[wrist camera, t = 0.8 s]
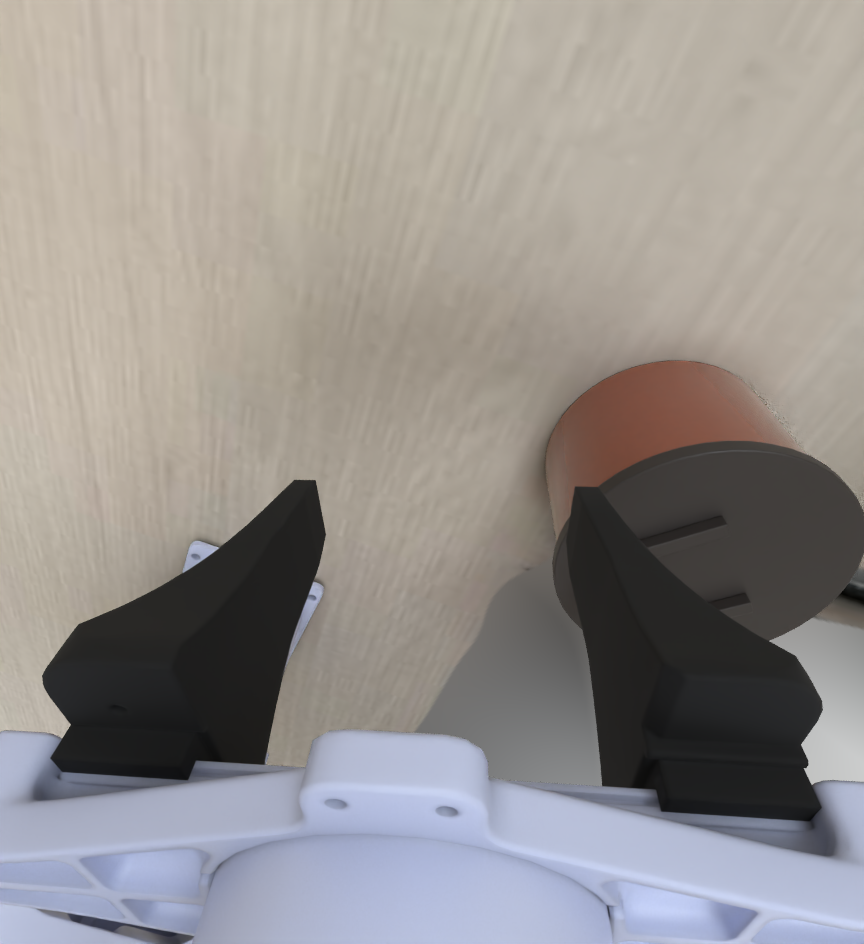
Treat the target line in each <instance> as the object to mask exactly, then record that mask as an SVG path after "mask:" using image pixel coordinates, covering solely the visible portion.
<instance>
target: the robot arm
mask: <svg viewBox="0 0 864 944" xmlns="http://www.w3.org/2000/svg"><path fill="white" fill-rule="evenodd" d="M325 536H326V533H325V528H324V522H323V517H322V512H321V506H320V501H319V496H318V490H317V485H316V480H294V481H293V482H292V483H291V484H290V485H289V486H288V487H287V488H285V489H284V490H283V491H282V492H281V493H280V494H279V495H278V496H277V497H276V498H275V499H274V500H273V501H272V502H271V503H270V504H269V505H268V506H267V507H266V508H265V509H264V510H263V511H262V512H261V513H259V514H258V515H257V516H256V517H255V518H254V519H253V520H252V521H251V522H250V523H249V524H248V525H246V526H245V527H244V528H243V529H242V530H241V531H239V532H238V533H237V534H236V535H235V536H233V537H232V538H231V539H230V540H229V541H228V542H226V543H225V544H224V545H223V546H221V547H220V548H218V547H216V546H213V545H210V544H207V543H205V542H202V541H194V542H192V544H191V545H190V547H189V549H188V553H187V557H186V561H185V565H184V568H183V572H182V574H180V575H179V576H177V577H175V578H174V579H172V580H170V581H169V582H167V583H166V584H164V585H162V586H160V587H159V588H157V589H155V590H153V591H151V592H149V593H147V594H145V595H144V596H141V597H139V598H137V599H135V600H133V601H131V602H129V603H127V604H125V605H123V606H121V607H119V608H116V609H114V610H112V611H109V612H107V613H105V614H102V615H100V616H98V617H95V618H93V619H90V620H88V621H86V622H83V623H80V624H78V626H77V627H76V628H75V629H74V631H73V632H72V634H71V635H70V636H69V638H68V639H67V640H66V642H65V643H64V644H63V646H62V647H61V648H60V650H59V651H58V653H57V654H56V655H55V657H54V658H53V659H52V661H51V662H50V664H49V665H48V666H47V668H46V669H45V671H44V673H43V675H42V677H43V685H44V688H45V690H46V691H47V693H48V695H49V696H50V698H51V699H52V700H53V702H54V703H55V704H56V706H57V707H58V708H59V710H60V711H61V712H62V713H63V715H64V716H65V717H66V719H67V720H68V721H69V723H70V724H71V726H70V727H69V729H68V730H67V732H66V734H65V735H64V737H63V738H60V737H58V736H56V735H54V734H50V733H45V732H28V731H12V730H5V731H1V732H0V944H864V782H855V781H838V780H828V781H821V782H817V783H814V784H813V785H811V783H810V781H809V779H808V777H807V775H806V773H805V770H804V768H807V766H808V759H807V757H806V755H805V753H804V751H803V749H802V746H801V744H802V742H803V741H804V739H805V738H806V737H807V735H808V734H809V732H810V731H811V730H812V728H813V727H814V725H815V724H816V723H817V721H818V719H819V717H820V715H821V713H822V710H823V709H822V700H821V698H820V696H819V695H818V693H817V691H816V689H815V687H814V685H813V683H812V681H811V680H810V678H809V676H808V674H807V673H806V671H805V670H804V668H803V667H802V665H801V664H800V662H799V661H798V659H797V657H796V656H795V655H793V654H791V653H789V652H787V651H785V650H784V649H782V648H780V647H778V646H777V645H775V644H773V643H771V642H769V641H767V640H766V639H764V638H762V637H760V636H758V635H757V634H755V633H753V632H752V631H750V630H749V629H747V628H745V627H744V626H742V625H741V624H739V623H737V622H736V621H734V620H733V619H731V618H730V617H728V616H727V615H725V614H724V613H722V612H721V611H719V610H718V609H717V608H715V607H714V606H713V605H711V604H710V603H709V602H707V601H706V600H705V599H703V598H702V597H701V596H699V595H698V594H697V593H695V592H694V591H693V590H692V589H690V588H689V587H688V586H687V585H685V584H684V583H683V582H682V581H681V580H680V579H679V578H677V577H676V576H675V575H674V574H673V573H672V572H671V571H670V570H668V569H667V568H666V567H665V566H664V565H663V564H662V563H661V562H660V561H659V560H658V559H657V558H656V557H655V556H654V555H653V554H652V552H651V551H650V550H649V549H648V548H647V547H646V546H645V545H644V544H643V543H642V542H641V540H640V539H639V538H638V537H637V536H636V535H635V533H634V532H633V531H632V530H631V529H630V528H629V526H628V525H627V524H626V523H625V521H624V520H623V519H622V518H621V516H620V515H619V514H618V513H617V511H616V510H615V509H614V507H613V506H612V505H611V503H610V502H609V501H608V499H607V498H606V497H605V495H604V494H603V493H602V491H601V490H600V489H599V488H598V487H578V486H575V489H574V495H573V501H572V507H571V514H570V520H569V526H568V532H567V539H566V547H567V558H568V567H569V575H570V579H571V584H572V588H573V592H574V597H575V601H576V605H577V609H578V613H579V618H580V622H581V626H582V630H583V634H584V638H585V643H586V648H587V653H588V658H589V665H590V672H591V681H592V689H593V697H594V706H595V715H596V723H597V733H598V743H599V752H600V763H601V775H602V786H590V785H589V786H588V785H574V784H558V783H542V782H526V781H510V780H501V779H498V778H494V777H490V776H488V761H487V758H486V756H485V754H484V752H483V750H482V749H481V748H479V747H478V746H477V745H475V744H473V743H471V742H470V741H468V740H466V739H465V738H460V737H454V736H449V735H444V734H427V733H410V732H392V731H375V730H358V729H343V730H332V731H328V732H326V733H325V734H323V735H321V736H319V737H318V738H316V739H314V740H313V741H312V745H311V749H310V753H309V757H308V761H307V765H306V768H305V767H289V766H273V765H266V762H267V759H268V756H269V754H268V753H267V748H268V743H269V738H270V733H271V728H272V723H273V718H274V713H275V709H276V704H277V700H278V695H279V691H280V687H281V682H282V678H283V675H284V672H285V669H286V666H287V663H288V661H289V659H290V657H291V655H292V653H293V651H294V649H295V647H296V645H297V643H298V641H299V640H300V638H301V636H302V634H303V632H304V630H305V628H306V626H307V624H308V622H309V620H310V618H311V616H312V614H313V613H314V611H315V609H316V607H317V605H318V603H319V601H320V599H321V597H322V595H323V592H324V588H323V586H322V585H321V584H319V583H316V582H313V581H314V578H315V576H316V573H317V570H318V567H319V564H320V559H321V555H322V551H323V546H324V541H325ZM313 595H314V596H313Z"/></svg>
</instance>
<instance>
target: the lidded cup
mask: <svg viewBox="0 0 864 944" xmlns="http://www.w3.org/2000/svg"><path fill="white" fill-rule="evenodd" d="M545 474H546V481H547V487H548V494H549V500H550V507H551V513H552V520H553V526H554V533H555V539H556V545H555V549H554V555H553V563H552V564H553V578H554V585H555V588H556V593H557V596H558V598H559V600H560V603H561V605H562V607H563V608H564V610H565V611H566V613H567V614H568V615H569V617H570V618H571V619H572V620H573V621H574V622H575V623H576V624H577V625H578V626H579V627H580V628H581V629H582V626H581V622H580V618H579V613H578V609H577V605H576V601H575V597H574V592H573V588H572V584H571V579H570V575H569V567H568V558H567V547H566V539H567V532H568V526H569V520H570V514H571V507H572V501H573V495H574V489H575V486H578V487H598V488H599V489H600V490H601V491H602V493H603V494H604V495H605V497H606V498H607V499H608V501H609V502H610V503H611V505H612V506H613V507H614V509H615V510H616V511H617V513H618V514H619V515H620V516H621V518H622V519H623V520H624V521H625V523H626V524H627V525H628V526H629V528H630V529H631V530H632V531H633V532H634V533H635V535H636V536H637V537H638V538H639V539H640V540H641V542H642V543H643V544H644V545H645V546H646V547H647V548H648V549H649V550H650V551H651V552H652V554H653V555H654V556H655V557H656V558H657V559H658V560H659V561H660V562H661V563H662V564H663V565H664V566H665V567H666V568H667V569H668V570H670V571H671V572H672V573H673V574H674V575H675V576H676V577H677V578H679V579H680V580H681V581H682V582H683V583H684V584H685V585H687V586H688V587H689V588H690V589H692V590H693V591H694V592H695V593H697V594H698V595H699V596H701V597H702V598H703V599H705V600H706V601H707V602H709V603H710V604H711V605H713V606H714V607H715V608H717V609H718V610H719V611H721V612H722V613H724V614H725V615H727V616H728V617H730V618H731V619H733V620H734V621H736V622H737V623H739V624H741V625H742V626H744V627H745V628H747V629H749V630H750V631H752V632H753V633H755V634H757V635H758V636H760V637H762V638H764V639H766V640H767V641H769V640H772V639H774V638H776V637H779V636H781V635H783V634H785V633H787V632H789V631H791V630H793V629H795V628H797V627H798V626H800V625H802V624H803V623H805V622H806V621H808V620H809V619H811V618H813V617H814V616H815V615H817V614H818V613H819V612H820V611H822V610H823V609H824V608H826V607H827V606H828V605H829V604H830V603H831V602H832V601H833V600H834V599H835V598H836V597H837V596H838V595H839V594H840V593H841V592H842V591H843V589H844V588H845V587H846V586H847V584H848V583H849V582H850V581H851V579H852V577H853V576H854V574H855V572H856V571H857V569H858V567H859V564H860V562H861V559H862V557H863V554H864V513H863V509H862V507H861V505H860V503H859V501H858V499H857V497H856V496H855V495H854V493H853V492H852V491H851V490H850V488H849V487H848V486H847V485H846V483H845V482H844V481H843V480H842V479H841V478H840V477H839V476H838V475H837V474H836V473H835V472H834V471H832V470H831V469H830V468H829V467H828V466H827V465H825V464H823V463H822V462H820V461H818V460H816V459H815V458H813V457H811V456H809V455H807V454H806V452H805V451H804V450H803V449H802V448H801V446H800V445H799V444H798V443H797V442H796V441H795V439H794V438H793V437H792V436H791V435H790V433H789V432H788V431H787V430H786V429H785V427H784V426H783V425H782V424H781V423H780V422H779V420H778V419H777V418H776V417H775V416H774V414H773V413H772V412H771V411H770V410H769V408H768V407H767V406H766V405H765V404H764V402H763V401H762V400H761V399H760V398H759V397H758V395H757V394H756V393H755V392H754V391H753V389H752V388H751V387H750V386H749V385H747V384H746V383H745V382H744V381H743V380H742V379H740V378H738V377H737V376H735V375H733V374H732V373H730V372H728V371H726V370H723V369H721V368H718V367H716V366H712V365H708V364H704V363H699V362H691V361H662V362H654V363H649V364H644V365H640V366H636V367H633V368H630V369H627V370H624V371H621V372H619V373H617V374H615V375H613V376H611V377H609V378H606V379H605V380H603V381H601V382H600V383H598V384H596V385H595V386H593V387H592V388H590V389H589V390H588V391H587V392H585V393H584V394H583V395H581V396H580V397H579V398H578V399H577V400H576V401H575V402H574V403H573V404H572V405H571V406H570V407H569V408H568V410H567V411H566V412H565V413H564V415H563V416H562V417H561V419H560V420H559V422H558V424H557V425H556V427H555V428H554V431H553V433H552V435H551V437H550V440H549V443H548V447H547V451H546V458H545Z"/></svg>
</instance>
